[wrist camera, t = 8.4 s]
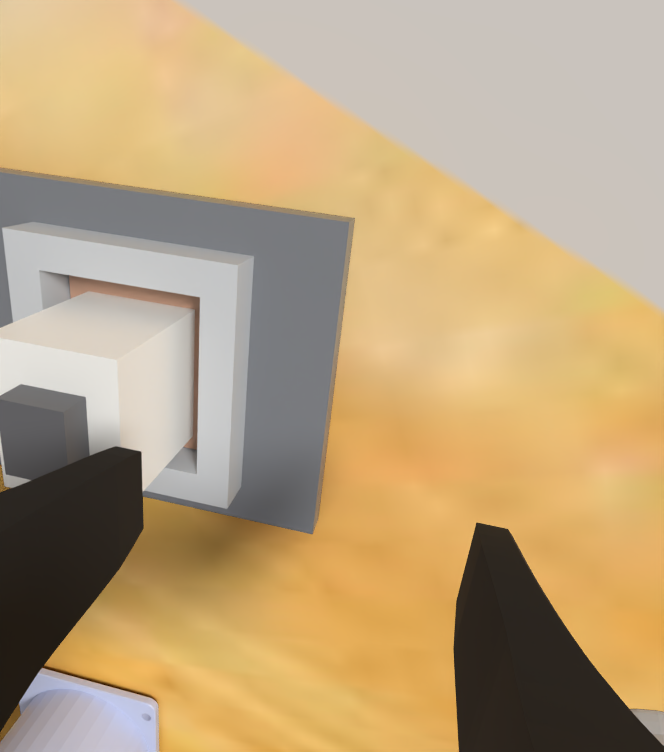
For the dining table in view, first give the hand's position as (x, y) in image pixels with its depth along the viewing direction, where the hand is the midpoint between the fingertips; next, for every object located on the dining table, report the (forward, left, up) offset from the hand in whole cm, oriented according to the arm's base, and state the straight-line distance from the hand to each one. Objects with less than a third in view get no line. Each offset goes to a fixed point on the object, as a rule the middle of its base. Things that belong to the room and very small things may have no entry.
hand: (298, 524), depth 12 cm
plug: (-1, +8, -8) cm, 12 cm away
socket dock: (-1, +8, -9) cm, 12 cm away
